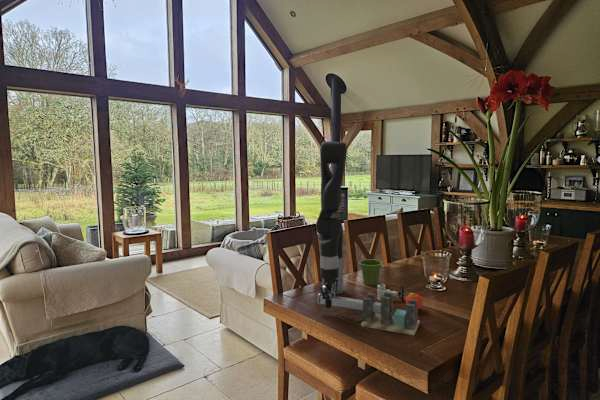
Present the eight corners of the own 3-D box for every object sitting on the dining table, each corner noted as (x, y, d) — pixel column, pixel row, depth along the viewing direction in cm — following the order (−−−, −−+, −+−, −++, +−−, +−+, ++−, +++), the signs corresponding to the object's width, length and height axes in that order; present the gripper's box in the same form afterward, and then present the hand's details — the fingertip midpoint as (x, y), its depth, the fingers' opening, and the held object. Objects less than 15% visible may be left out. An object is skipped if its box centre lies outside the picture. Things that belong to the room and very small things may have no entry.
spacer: (393, 313, 148) (404, 315, 146) (397, 309, 152) (407, 310, 150) (393, 325, 148) (404, 327, 147) (396, 320, 153) (407, 322, 151)
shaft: (316, 305, 163) (316, 294, 162) (321, 301, 167) (320, 291, 166) (387, 316, 150) (387, 305, 149) (390, 312, 153) (390, 301, 153)
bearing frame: (360, 325, 151) (360, 297, 149) (369, 314, 161) (369, 287, 160) (414, 335, 142) (414, 304, 141) (419, 322, 152) (420, 294, 151)
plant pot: (367, 278, 209) (367, 258, 208) (386, 283, 201) (387, 261, 200) (354, 283, 201) (354, 262, 200) (374, 289, 193) (374, 266, 191)
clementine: (400, 308, 167) (400, 292, 167) (410, 304, 171) (410, 288, 171) (415, 314, 161) (416, 297, 160) (425, 309, 165) (426, 293, 164)
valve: (376, 301, 176) (403, 303, 173) (376, 287, 176) (403, 289, 172) (377, 296, 183) (403, 298, 180) (377, 282, 182) (403, 284, 179)
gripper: (327, 260, 169) (328, 299, 170) (314, 269, 156) (314, 311, 158) (343, 262, 165) (344, 302, 167) (331, 271, 153) (332, 314, 154)
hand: (329, 306), depth 162 cm, fingers closed on shaft, 3 cm apart
